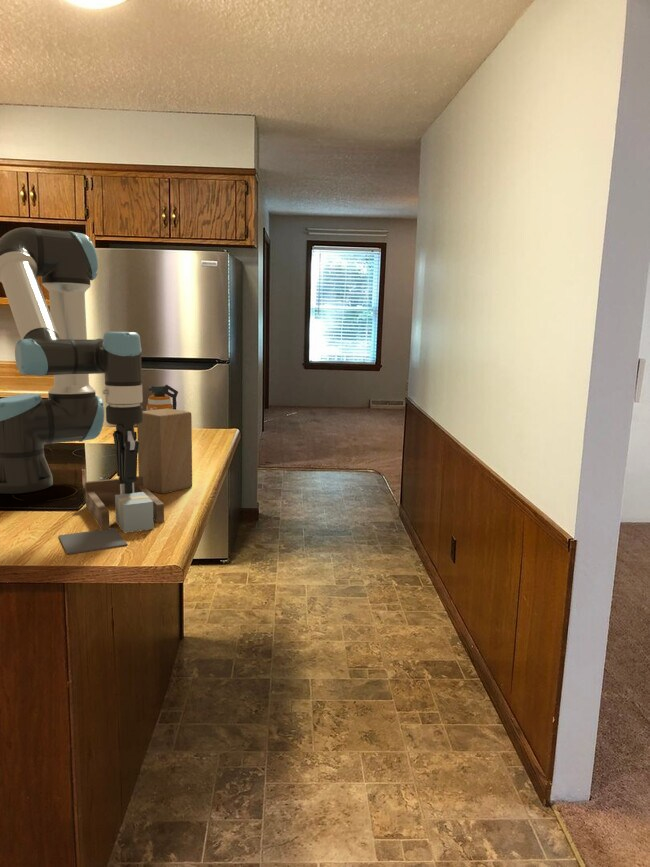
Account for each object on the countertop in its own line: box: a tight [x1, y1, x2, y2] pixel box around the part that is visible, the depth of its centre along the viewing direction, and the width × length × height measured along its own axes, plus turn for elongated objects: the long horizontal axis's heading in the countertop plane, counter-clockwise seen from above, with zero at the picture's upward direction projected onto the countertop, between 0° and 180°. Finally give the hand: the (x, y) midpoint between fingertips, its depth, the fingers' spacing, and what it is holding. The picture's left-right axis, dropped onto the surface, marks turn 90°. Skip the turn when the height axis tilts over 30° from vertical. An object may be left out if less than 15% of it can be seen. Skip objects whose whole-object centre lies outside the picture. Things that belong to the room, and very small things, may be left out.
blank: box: [114, 492, 154, 534], centre depth 135 cm, size 8×6×6 cm
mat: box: [58, 527, 128, 555], centre depth 125 cm, size 11×11×1 cm
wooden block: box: [136, 408, 193, 495], centre depth 165 cm, size 10×10×20 cm
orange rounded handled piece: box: [146, 384, 179, 411], centre depth 229 cm, size 9×11×20 cm
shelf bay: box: [84, 475, 165, 530], centre depth 142 cm, size 18×13×6 cm
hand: (127, 510), depth 140 cm, fingers closed
